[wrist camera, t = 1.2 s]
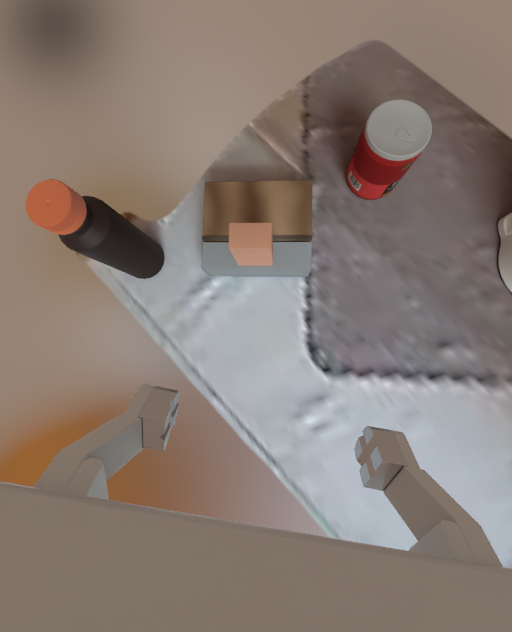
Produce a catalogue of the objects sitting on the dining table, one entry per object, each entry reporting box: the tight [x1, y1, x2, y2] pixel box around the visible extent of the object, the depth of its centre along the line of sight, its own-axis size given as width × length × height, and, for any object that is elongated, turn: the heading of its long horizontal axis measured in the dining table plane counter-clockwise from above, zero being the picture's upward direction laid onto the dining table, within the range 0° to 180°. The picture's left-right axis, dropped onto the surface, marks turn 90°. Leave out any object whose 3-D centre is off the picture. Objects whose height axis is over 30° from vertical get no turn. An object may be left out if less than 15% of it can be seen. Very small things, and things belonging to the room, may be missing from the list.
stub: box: [202, 223, 312, 277], centre depth 39 cm, size 16×4×13 cm, turn 89°
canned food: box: [347, 99, 432, 200], centre depth 39 cm, size 8×8×11 cm
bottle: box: [26, 179, 164, 279], centre depth 37 cm, size 7×7×20 cm
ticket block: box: [202, 180, 312, 242], centre depth 43 cm, size 16×9×5 cm, turn 89°
